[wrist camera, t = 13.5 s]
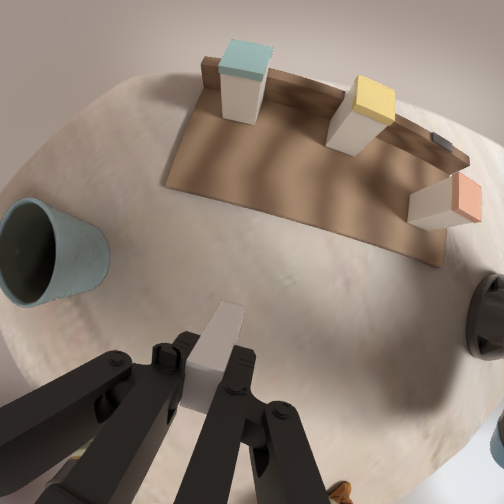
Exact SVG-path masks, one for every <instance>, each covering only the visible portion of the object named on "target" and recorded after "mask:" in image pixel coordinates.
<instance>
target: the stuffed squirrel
mask: <svg viewBox="0 0 504 504" xmlns="http://www.w3.org/2000/svg"><path fill="white" fill-rule="evenodd" d="M350 493H351V484H350V483H349V482H346V483H343V484H342V485H341V486H339V487H338V488H337V489H336V490H335V491H334V492H333V493H332V494H331V495H330V496H328V497H329V500H330V503H331V504H353V502H352V500H351V499H350V498H349V495H350Z"/></svg>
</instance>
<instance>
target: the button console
mask: <svg viewBox="0 0 504 504" xmlns="http://www.w3.org/2000/svg"><path fill="white" fill-rule="evenodd" d="M220 61H221V59H220V58H212V57H206V56H205V57H204V59H203V61H202V63H201V71H202V78H203V84H204V89H203V91H202V93H201V95H200V98H199V100H198V102H197V104H196V107H195V109H194V111H193V114H192V116H191V118H190V121H189V123H188V126H187V128H186V130H185V133H184V135H183V138H182V141H181V143H180V146H179V148H178V151H177V154H176V156H175V159H174V162H173V164H172V167H171V170H170V173H169V176H168V179H167V182H166V184H165V186H166V187H167V188H169V189H173V190H177V191H181V192H186V193H190V194H194V195H198V196H202V197H206V198H210V199H214V200H218V201H222V202H226V203H230V204H234V205H238V206H241V207H245V208H249V209H253V210H256V211H260V212H264V213H267V214H271V215H275V216H278V217H282V218H285V219H289V220H292V221H296V222H299V223H303V224H306V225H309V226H313V227H316V228H320V229H323V230H326V231H330V232H333V233H336V234H339V235H343V236H346V237H349V238H352V239H355V240H358V241H362V242H365V243H368V244H371V245H374V246H377V247H380V248H383V249H386V250H389V251H392V252H395V253H398V254H401V255H404V256H407V257H410V258H413V259H416V260H419V261H421V262H424V263H427V264H430V265H433V266H435V267H442V266H443V260H444V252H445V244H446V235H447V228H443V229H439V230H434V231H429V232H428V231H426V230H424V229H421V228H419V227H416V226H414V225H412V224H409V223H407V219H408V210H409V201H410V194H412V193H415V192H417V191H419V190H422V189H424V188H426V187H428V186H431V185H433V184H435V183H437V182H440V181H442V180H444V179H447V178H449V175H451V174H453V173H455V172H457V171H459V170H462V169H464V168H466V167H468V166H470V160H469V156H467V155H466V154H464V153H463V152H461V151H460V150H458V149H457V148H455V147H454V146H452V143H450V142H449V141H447V140H446V139H444V138H442V137H441V136H439V135H438V134H436V133H434V132H433V133H431V132H429V131H428V130H426V129H424V128H422V127H420V126H419V125H417V124H415V123H413V122H411V121H409V120H407V119H406V118H404V117H402V116H400V115H398V114H396V113H395V121H394V122H393V123H392V124H391V125H390V126H387V127H386V128H385V129H384V130H382V131H381V132H380V133H379V134H378V135H377V136H376V137H375V138H374V139H373V140H372V141H371V142H370V143H369V144H368V145H366V146H365V147H364V148H363V149H362V150H361V151H360V152H359V153H358V154H357V155H356V156H355V157H354V156H351V155H349V154H346V153H343V152H340V151H338V150H335V149H332V148H329V147H326V146H325V145H326V140H327V134H328V129H329V123H330V120H331V119H332V117H333V115H334V114H335V112H336V111H337V109H338V108H339V106H340V105H341V103H342V102H343V100H344V99H345V97H346V95H347V94H348V92H349V91H347V90H346V91H342V90H340V89H337V88H334V87H331V86H329V85H326V84H323V83H320V82H317V81H314V80H311V79H307V78H304V77H301V76H297V75H294V74H290V73H287V72H283V71H279V70H275V69H271V68H268V73H267V78H266V84H265V89H264V95H263V100H262V104H261V107H260V110H259V113H258V116H257V119H256V122H255V125H251V124H247V123H242V122H238V121H234V120H229V119H224V118H223V114H222V97H221V80H220V73H219V69H218V65H219V63H220Z"/></svg>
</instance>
